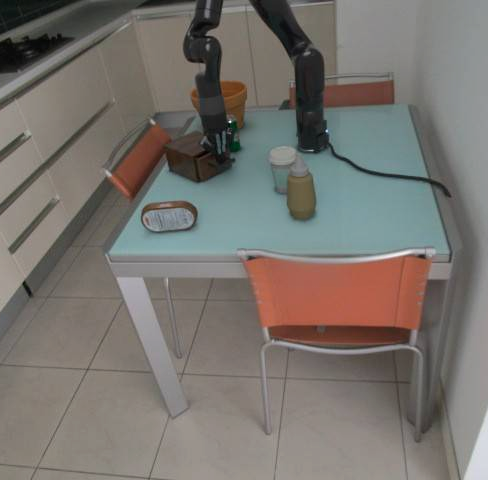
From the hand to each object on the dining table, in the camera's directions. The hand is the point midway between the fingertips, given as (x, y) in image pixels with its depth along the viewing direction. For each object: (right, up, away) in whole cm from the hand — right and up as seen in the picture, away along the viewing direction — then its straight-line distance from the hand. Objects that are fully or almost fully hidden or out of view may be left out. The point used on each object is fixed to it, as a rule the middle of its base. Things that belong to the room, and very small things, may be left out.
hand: (221, 163), depth 145 cm
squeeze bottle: (+24, -17, -18) cm, 34 cm away
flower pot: (-3, +20, +36) cm, 41 cm away
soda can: (+2, +8, +19) cm, 21 cm away
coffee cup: (+20, -9, -6) cm, 22 cm away
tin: (-11, -21, -18) cm, 30 cm away
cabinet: (-8, 0, +10) cm, 13 cm away
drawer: (-5, -1, +6) cm, 8 cm away
